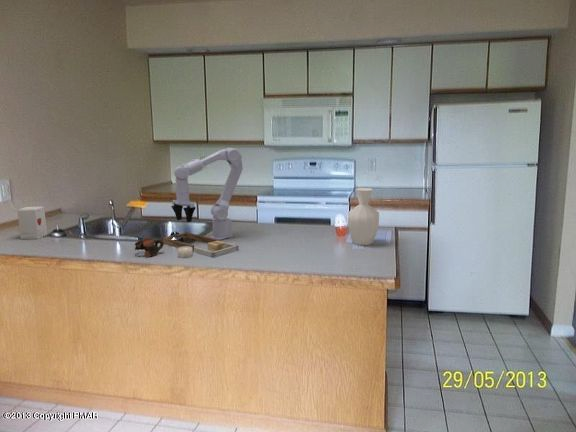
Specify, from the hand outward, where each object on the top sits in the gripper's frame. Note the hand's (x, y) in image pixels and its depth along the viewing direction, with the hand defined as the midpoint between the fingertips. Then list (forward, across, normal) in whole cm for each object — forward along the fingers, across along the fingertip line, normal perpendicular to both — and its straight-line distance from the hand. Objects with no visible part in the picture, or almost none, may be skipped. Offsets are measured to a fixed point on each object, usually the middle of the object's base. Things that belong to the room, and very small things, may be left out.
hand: (184, 220), depth 215 cm
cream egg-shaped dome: (+10, +20, -15) cm, 27 cm away
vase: (+10, +68, +49) cm, 84 cm away
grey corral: (+10, +25, -2) cm, 27 cm away
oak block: (+10, +25, -2) cm, 27 cm away
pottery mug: (+10, +6, -23) cm, 26 cm away
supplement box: (+10, -67, -42) cm, 80 cm away
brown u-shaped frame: (+10, +6, -2) cm, 12 cm away
